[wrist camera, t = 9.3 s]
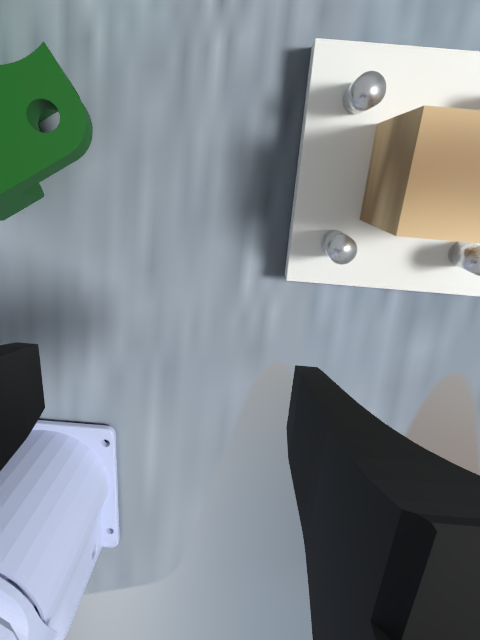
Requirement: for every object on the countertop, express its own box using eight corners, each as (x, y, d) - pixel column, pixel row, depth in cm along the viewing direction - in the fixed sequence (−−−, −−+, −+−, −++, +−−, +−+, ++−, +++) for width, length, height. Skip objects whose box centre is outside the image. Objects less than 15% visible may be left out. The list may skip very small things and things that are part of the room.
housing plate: (478, 290, 21) (516, 310, 18) (284, 274, 21) (290, 292, 18) (544, 65, 17) (606, 43, 14) (311, 46, 17) (324, 20, 14)
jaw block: (446, 227, 18) (512, 246, 14) (359, 219, 18) (396, 236, 14) (470, 131, 17) (553, 116, 12) (377, 123, 17) (424, 105, 12)
